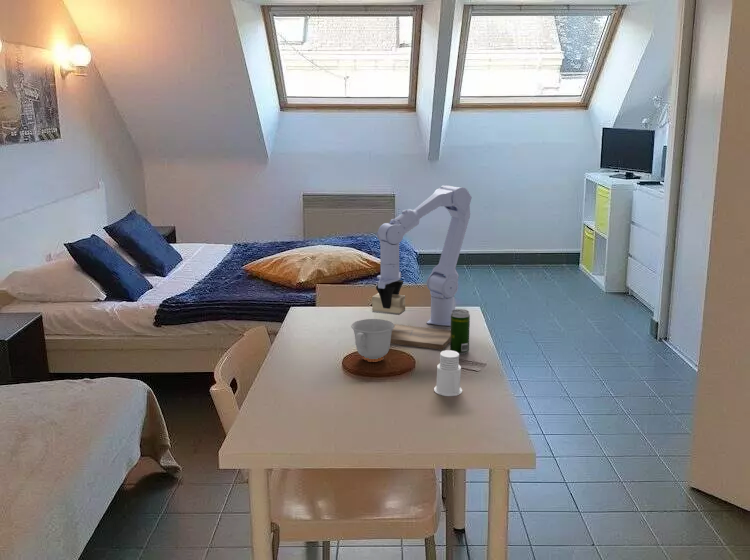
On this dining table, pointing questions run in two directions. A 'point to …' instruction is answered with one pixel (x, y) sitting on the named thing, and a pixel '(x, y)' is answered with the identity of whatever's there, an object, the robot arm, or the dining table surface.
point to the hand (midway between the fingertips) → (389, 305)
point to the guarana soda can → (460, 331)
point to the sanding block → (396, 305)
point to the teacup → (372, 337)
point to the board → (420, 336)
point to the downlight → (448, 374)
